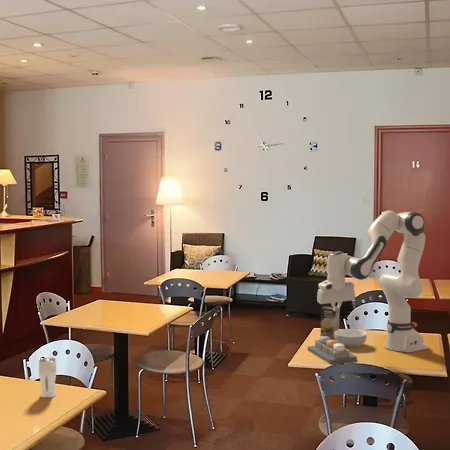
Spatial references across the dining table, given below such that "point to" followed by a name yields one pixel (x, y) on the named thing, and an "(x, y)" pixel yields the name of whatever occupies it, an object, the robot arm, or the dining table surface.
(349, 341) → the cereal bowl
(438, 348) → the dining table surface
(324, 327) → the coffee box
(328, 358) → the grey slotted rack
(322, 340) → the key slate
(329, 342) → the key terracotta
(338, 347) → the key ivory
